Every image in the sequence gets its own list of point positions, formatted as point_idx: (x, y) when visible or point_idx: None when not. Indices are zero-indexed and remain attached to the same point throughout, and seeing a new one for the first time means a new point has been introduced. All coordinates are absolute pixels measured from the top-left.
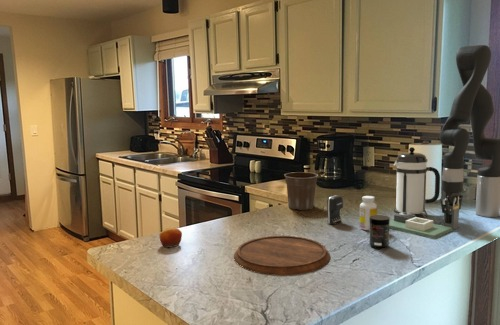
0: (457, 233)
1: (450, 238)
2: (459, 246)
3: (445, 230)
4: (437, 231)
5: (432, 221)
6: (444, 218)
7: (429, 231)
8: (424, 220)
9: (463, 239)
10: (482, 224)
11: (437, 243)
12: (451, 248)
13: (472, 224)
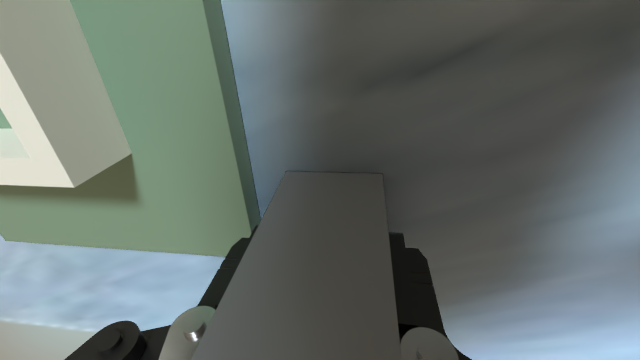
0: None
1: (126, 280)
2: (82, 329)
3: (157, 250)
4: (83, 225)
5: (64, 183)
6: (257, 236)
7: (24, 187)
8: (4, 87)
9: None
10: (594, 329)
11: (5, 264)
12: (32, 316)
13: (554, 288)
